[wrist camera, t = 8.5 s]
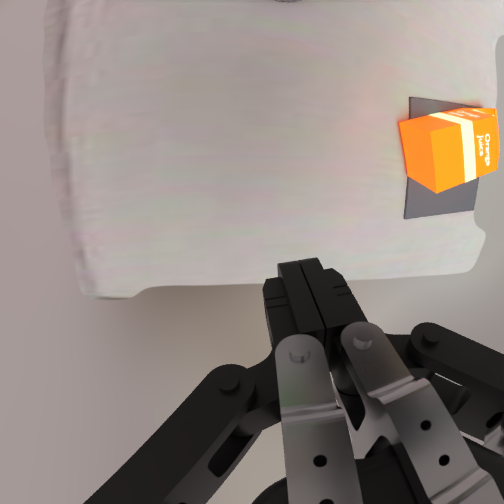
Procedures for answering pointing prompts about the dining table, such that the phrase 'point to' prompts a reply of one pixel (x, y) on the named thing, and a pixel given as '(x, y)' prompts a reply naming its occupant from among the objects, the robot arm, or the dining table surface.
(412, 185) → the mat
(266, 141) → the dining table surface
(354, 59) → the dining table surface
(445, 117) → the orange juice
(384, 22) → the dining table surface
